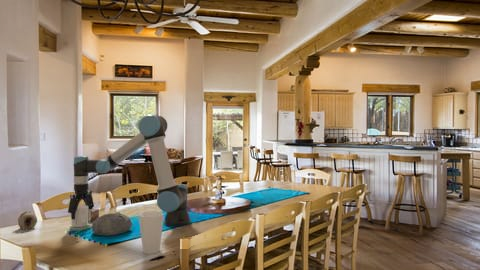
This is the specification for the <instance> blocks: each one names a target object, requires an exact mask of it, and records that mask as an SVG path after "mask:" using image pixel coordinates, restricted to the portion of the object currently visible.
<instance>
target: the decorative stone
mask: <svg viewBox="0 0 480 270" xmlns="http://www.w3.org/2000/svg"><path fill="white" fill-rule="evenodd" d="M91 224H92V227H91V231H92V232H93V234H95V235H98V236H115V235H120V234H123V233H125V232H128V231H131V228H132V226H133V223H132V220H131V217H129V216H127V215H126V214H123V213H121V212H120V211H119V212H118V211H116V212H112V213H106V214H103V215H101V216H100V215H99V217H98V218H97V219H96V220H95V221H94V222H93V223H91Z"/></svg>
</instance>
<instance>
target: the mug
mask: <svg viewBox="0 0 480 270" xmlns="http://www.w3.org/2000/svg"><path fill="white" fill-rule="evenodd" d="M76 213H77V225H72V219H71V226H73V227H83V226H87V224H89V223H88V206H86V205H85V204H84V205H78V207H77V210H76Z"/></svg>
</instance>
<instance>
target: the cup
mask: <svg viewBox="0 0 480 270" xmlns="http://www.w3.org/2000/svg"><path fill="white" fill-rule="evenodd" d="M164 219H165V213H164V212H163V211H162V212H161V211H157V210H156V211H143V212H142V213H139V214H138V221H139V229H140V230H139V231H140V239H141V247H142V253H144V254H146V255H151V254H154V255H155V254H157V253H159V252H160V251H161V241H162V234H163V226H164V225H163V224H164Z"/></svg>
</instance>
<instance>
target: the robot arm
mask: <svg viewBox="0 0 480 270" xmlns="http://www.w3.org/2000/svg"><path fill="white" fill-rule="evenodd" d="M167 129H168V121H167V120H166V119H165V117H163V116H161V115H155V114H147V115H144V116H142V117H141V119H140V120H139V122H138V131H139V133H137V134H136V135H134V136H133V137H132V138H131V139H129V140H128V141H127V142H126V143H124V144H123V145H121V146H120V147H119V148H117V149H116V150H114V151H113V152H112V153H111V154H109V155H108V156H106V157H105V158H100V159H89V156H87V155H77V156H74V157H73V183H74V184H73V190H74V194H70V195H69V197H70V200H69V205H68V209H67V213H68V214H70V215H71V216H70V217H71V219H72V225H77V213H76V210H77V207H78V206H80V202H82V201H83V202H84V206H88V220H89V221H90V220H91V209H94V207H95V203H94V200H93V199H94V197H93V195H92V194H93V191H92V190H89V182H90V181H89V173H90V174H107V173H109V171H112V170H115V169H117V167H118V166H119V165H120V164H121V163H123V162H124V161H125V160H126V159H128V158H129V157H130V156H132V155H133V154H134V153H136V152H137V151H138V150H140V149H142V147H145V145H147V144H148V148H149V151H150V156H151V160H152V164H153V167H154V172H155V177H156V181H157V184H158V186H157V188H156V192H157V199H156V204H157V207H158V208H159V209H160V210H161V211H162V212H163V213H164V212H165V213H166V214H165V216H164V219H163V224H164V225H165V226H168V227H183V226H187V225H189V224H191V217H190V214H189V211H188V191H189V189H188V185H187V184H184V183H183V184H181V183H177V182H175V181H174V180H175V179H174V176H173V172H172V168H171V164H170V159H169V156H168V152H167V147H166V144H165V138H166V132H167ZM72 225H71V226H72Z"/></svg>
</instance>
